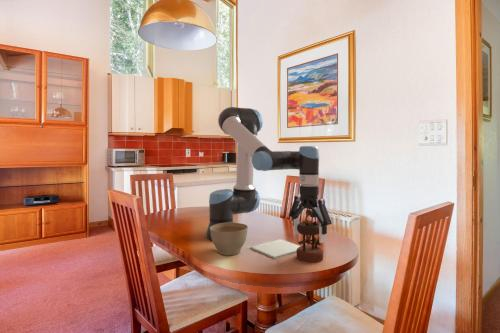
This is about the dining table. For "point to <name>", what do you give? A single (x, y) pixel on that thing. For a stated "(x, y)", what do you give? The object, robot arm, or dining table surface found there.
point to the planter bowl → (229, 237)
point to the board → (276, 248)
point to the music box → (309, 241)
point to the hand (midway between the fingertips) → (308, 238)
